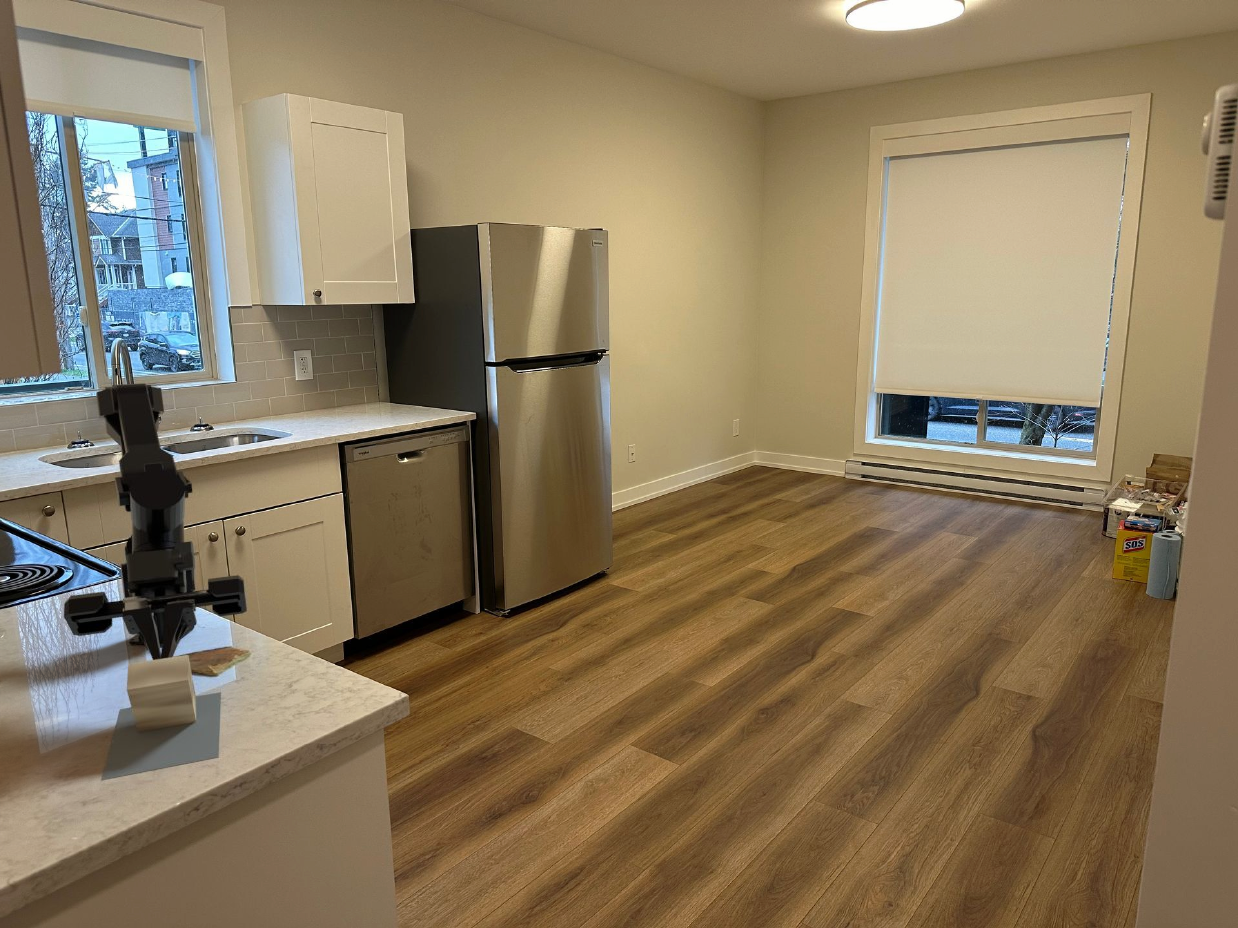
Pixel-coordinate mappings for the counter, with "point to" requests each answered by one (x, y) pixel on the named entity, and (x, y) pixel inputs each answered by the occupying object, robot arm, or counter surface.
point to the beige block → (161, 692)
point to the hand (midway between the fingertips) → (161, 672)
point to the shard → (216, 659)
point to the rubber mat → (164, 741)
